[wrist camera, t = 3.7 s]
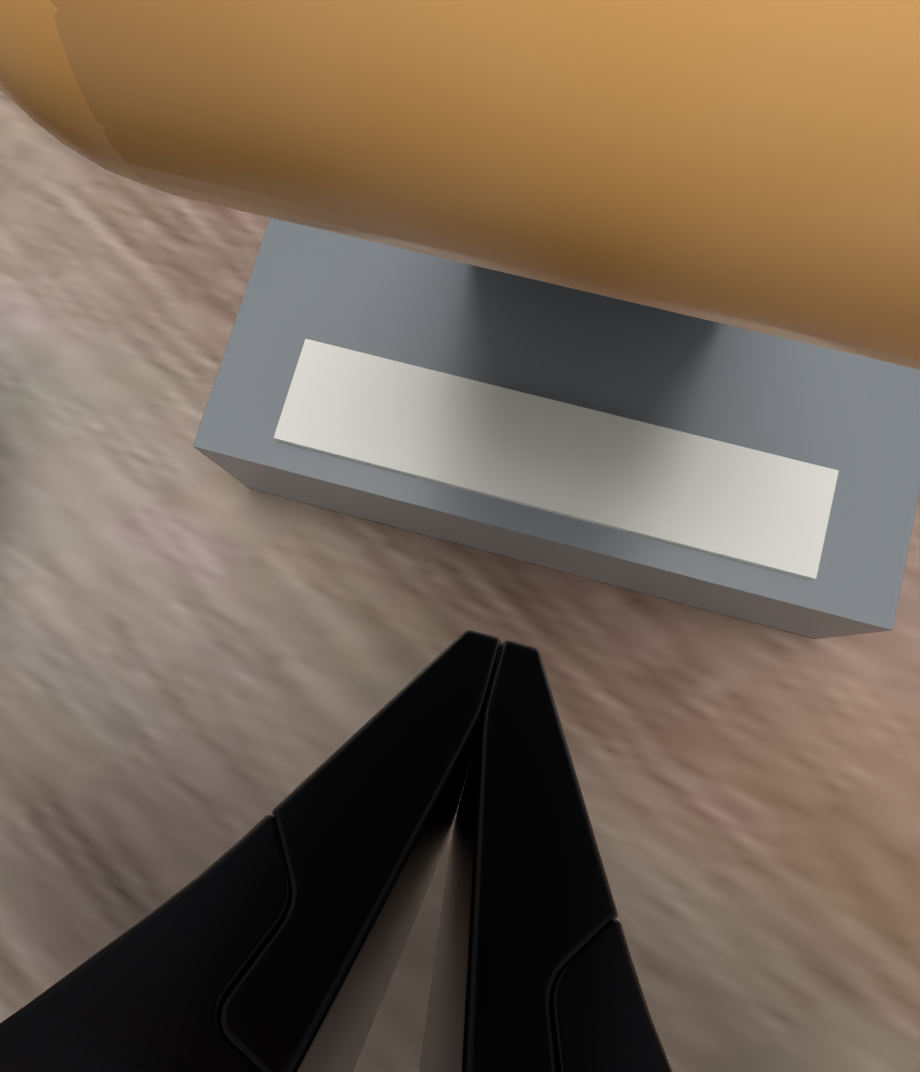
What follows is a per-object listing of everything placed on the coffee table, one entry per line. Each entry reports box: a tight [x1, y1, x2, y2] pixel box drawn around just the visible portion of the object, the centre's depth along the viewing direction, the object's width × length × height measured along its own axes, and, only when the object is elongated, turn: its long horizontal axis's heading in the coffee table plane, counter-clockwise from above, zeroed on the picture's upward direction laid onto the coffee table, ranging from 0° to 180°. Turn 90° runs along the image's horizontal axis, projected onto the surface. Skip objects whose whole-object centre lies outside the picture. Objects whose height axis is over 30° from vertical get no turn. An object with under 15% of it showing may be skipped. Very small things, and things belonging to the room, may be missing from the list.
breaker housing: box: [193, 218, 920, 639], centre depth 17 cm, size 9×13×4 cm
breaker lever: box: [0, 0, 920, 370], centre depth 9 cm, size 3×7×14 cm, turn 75°
